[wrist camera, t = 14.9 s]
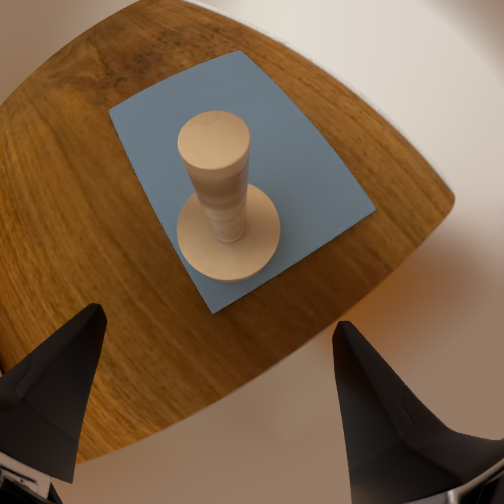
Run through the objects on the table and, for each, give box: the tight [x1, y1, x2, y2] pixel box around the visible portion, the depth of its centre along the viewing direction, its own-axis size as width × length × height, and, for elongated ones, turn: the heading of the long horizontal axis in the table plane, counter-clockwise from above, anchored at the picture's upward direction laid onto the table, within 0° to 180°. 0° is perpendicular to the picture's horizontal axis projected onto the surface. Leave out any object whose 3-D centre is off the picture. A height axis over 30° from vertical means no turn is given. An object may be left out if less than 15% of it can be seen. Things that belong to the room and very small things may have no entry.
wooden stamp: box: [177, 110, 280, 284], centre depth 12 cm, size 6×6×12 cm
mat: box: [108, 50, 376, 314], centre depth 19 cm, size 20×14×1 cm
